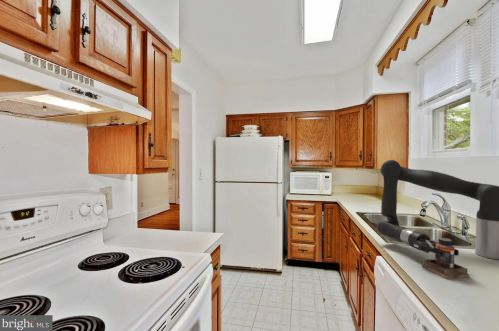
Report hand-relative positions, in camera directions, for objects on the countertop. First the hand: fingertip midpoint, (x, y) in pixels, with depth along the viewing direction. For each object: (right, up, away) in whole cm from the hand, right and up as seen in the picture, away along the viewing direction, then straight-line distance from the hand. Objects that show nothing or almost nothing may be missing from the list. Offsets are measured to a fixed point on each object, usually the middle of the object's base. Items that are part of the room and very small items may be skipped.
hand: (450, 253), depth 94 cm
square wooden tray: (-1, -8, +2) cm, 8 cm away
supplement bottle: (-1, -7, +3) cm, 7 cm away
